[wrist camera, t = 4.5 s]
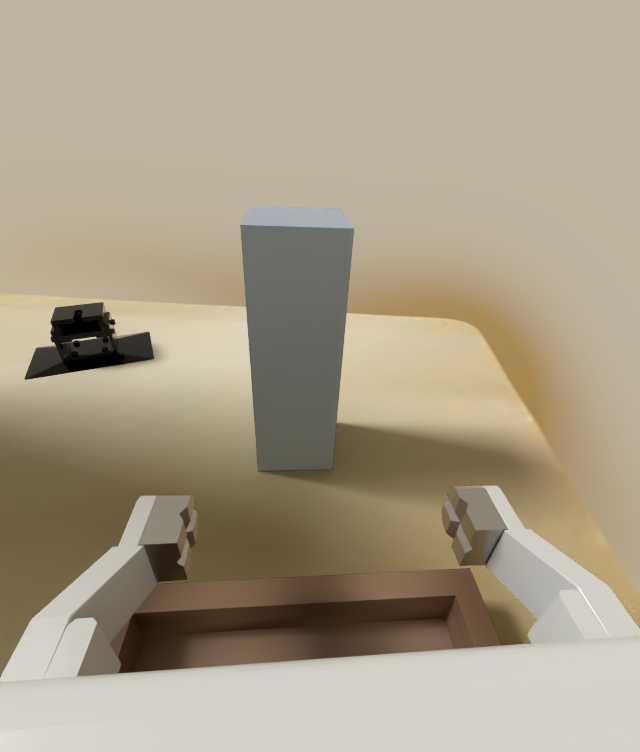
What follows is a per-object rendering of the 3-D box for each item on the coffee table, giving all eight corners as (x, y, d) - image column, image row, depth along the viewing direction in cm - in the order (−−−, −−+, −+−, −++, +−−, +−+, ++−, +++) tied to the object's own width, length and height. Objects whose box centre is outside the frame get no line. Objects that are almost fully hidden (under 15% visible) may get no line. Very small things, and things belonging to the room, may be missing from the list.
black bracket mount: (-1, 395, 28) (-30, 342, 25) (19, 350, 33) (-3, 303, 31) (172, 365, 32) (162, 317, 30) (164, 330, 38) (155, 287, 35)
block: (258, 470, 22) (240, 225, 14) (262, 421, 26) (250, 205, 18) (332, 469, 22) (354, 228, 15) (326, 421, 26) (340, 208, 18)
